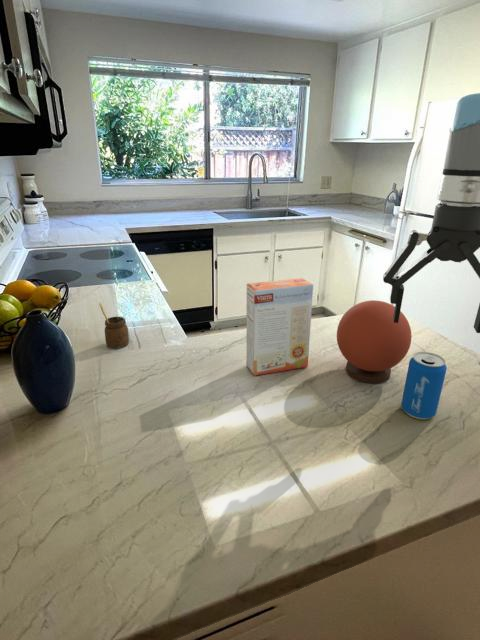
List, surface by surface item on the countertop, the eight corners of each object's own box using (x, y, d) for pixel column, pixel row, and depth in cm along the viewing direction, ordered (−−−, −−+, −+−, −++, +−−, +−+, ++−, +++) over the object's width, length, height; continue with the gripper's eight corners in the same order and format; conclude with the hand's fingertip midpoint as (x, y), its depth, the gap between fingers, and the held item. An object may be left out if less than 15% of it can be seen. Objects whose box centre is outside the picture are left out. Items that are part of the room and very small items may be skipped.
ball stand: (402, 362, 99) (414, 295, 92) (405, 396, 85) (420, 320, 78) (336, 352, 104) (343, 288, 97) (329, 383, 90) (337, 310, 83)
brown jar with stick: (129, 347, 105) (124, 304, 101) (104, 350, 104) (98, 306, 99) (129, 338, 111) (125, 297, 106) (105, 340, 109) (100, 299, 105)
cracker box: (297, 356, 101) (303, 276, 93) (308, 368, 96) (315, 284, 88) (244, 364, 97) (245, 281, 89) (253, 376, 92) (255, 290, 84)
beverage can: (396, 414, 79) (406, 360, 75) (405, 399, 84) (415, 347, 80) (431, 426, 76) (444, 370, 71) (438, 409, 81) (450, 356, 76)
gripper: (380, 202, 65) (363, 323, 73) (562, 210, 58) (520, 343, 66) (380, 197, 71) (364, 309, 79) (543, 204, 64) (508, 326, 73)
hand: (435, 325), depth 73 cm, fingers open, 13 cm apart
